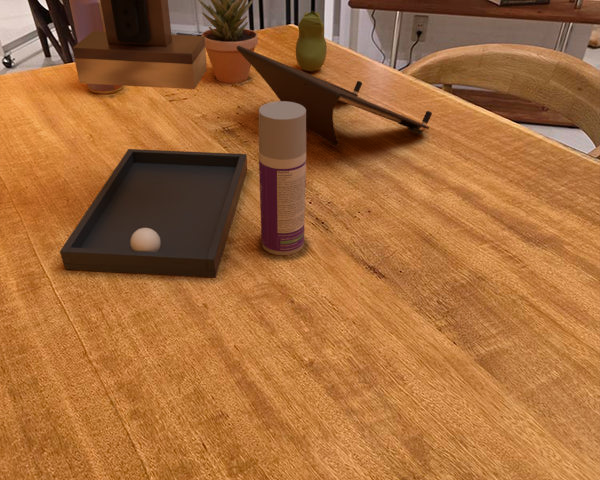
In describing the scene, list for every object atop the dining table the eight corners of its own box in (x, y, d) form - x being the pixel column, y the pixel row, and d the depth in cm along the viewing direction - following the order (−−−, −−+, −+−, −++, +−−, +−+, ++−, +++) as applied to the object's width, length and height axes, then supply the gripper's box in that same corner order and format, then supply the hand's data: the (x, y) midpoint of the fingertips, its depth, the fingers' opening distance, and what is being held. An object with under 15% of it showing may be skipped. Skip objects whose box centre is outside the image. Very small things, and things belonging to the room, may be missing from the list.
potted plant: (258, 67, 109) (253, -91, 94) (259, 86, 102) (254, -83, 86) (203, 68, 109) (190, -92, 93) (201, 86, 101) (186, -84, 86)
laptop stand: (422, 179, 89) (450, 120, 86) (317, 150, 73) (347, 76, 69) (326, 127, 103) (347, 75, 100) (220, 94, 87) (241, 30, 83)
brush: (79, 83, 60) (57, -21, 54) (99, 64, 65) (81, -34, 59) (195, 89, 60) (185, -15, 54) (207, 69, 64) (199, -29, 58)
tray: (64, 269, 60) (59, 251, 59) (131, 164, 79) (128, 148, 77) (215, 277, 60) (214, 259, 58) (247, 170, 78) (246, 153, 76)
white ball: (134, 249, 62) (128, 261, 60) (132, 222, 61) (126, 233, 58) (163, 250, 62) (158, 262, 60) (162, 224, 61) (157, 235, 58)
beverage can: (98, 97, 97) (77, -3, 87) (82, 87, 100) (60, -10, 91) (131, 89, 100) (114, -9, 90) (114, 79, 103) (96, -16, 94)
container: (255, 236, 66) (250, 104, 56) (294, 228, 67) (295, 97, 58) (270, 259, 62) (267, 122, 53) (310, 250, 64) (315, 115, 54)
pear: (326, 66, 110) (329, 8, 104) (324, 76, 106) (326, 16, 100) (297, 65, 111) (297, 7, 105) (293, 74, 107) (294, 15, 100)
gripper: (94, -200, 55) (127, 14, 66) (14, -205, 42) (72, 60, 54) (174, -198, 54) (193, 18, 66) (117, -202, 42) (153, 65, 53)
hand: (138, 35), depth 60 cm, fingers closed on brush, 2 cm apart
